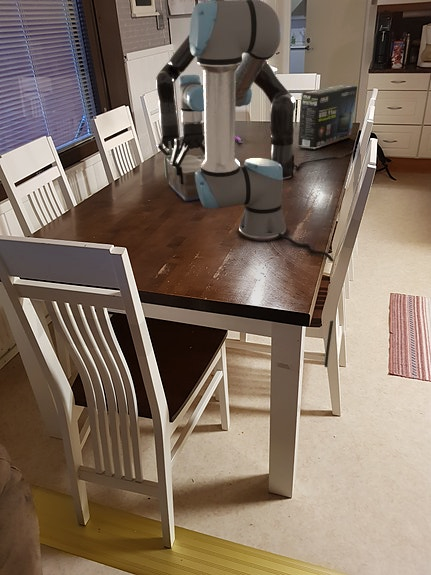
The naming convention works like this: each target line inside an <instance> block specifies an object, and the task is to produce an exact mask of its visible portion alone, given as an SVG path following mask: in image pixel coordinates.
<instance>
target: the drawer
mask: <svg viewBox="0 0 431 575" xmlns="http://www.w3.org/2000/svg"><path fill="white" fill-rule="evenodd" d="M179 155H180V154H178V156H177V157H179ZM187 155H188V154H187V153H186V155H185V156H187ZM171 157H172V155H169V156H166V155H164V156H163V163H164V175H165V178H166V179H169V177H168V165H167V158H171Z"/></svg>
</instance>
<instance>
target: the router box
mask: <svg viewBox="0 0 431 575" xmlns="http://www.w3.org/2000/svg"><path fill="white" fill-rule="evenodd" d="M357 93H358V86H356V85H350V84H339V85H338V84H337V85H334V86H328V87H324V88H318V89H314V90H309V91H304V92H301V93H300V109H299V110H300V111H299V124H298V137H297V146H298V145H302V146H307V147H317V146H320V145H323V144H325V143H328V142H331V141H333V140H336V139H338V138H341V137H344V136H347V135H351V136H352V133H353V132H352V131H353V125H354V115H355V109H356V99H357ZM311 151H313V150H312V149H311Z"/></svg>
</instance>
